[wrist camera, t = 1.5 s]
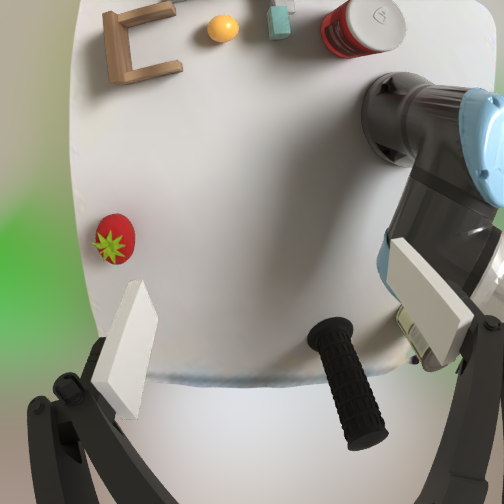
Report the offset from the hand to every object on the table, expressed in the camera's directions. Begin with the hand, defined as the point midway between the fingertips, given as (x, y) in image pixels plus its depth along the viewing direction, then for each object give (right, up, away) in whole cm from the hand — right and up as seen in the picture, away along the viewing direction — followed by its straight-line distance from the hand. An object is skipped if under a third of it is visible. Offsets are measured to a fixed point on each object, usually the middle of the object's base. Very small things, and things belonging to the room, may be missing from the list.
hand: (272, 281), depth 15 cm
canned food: (+12, +32, +18) cm, 39 cm away
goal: (-15, +30, +17) cm, 37 cm away
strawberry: (-21, +6, +30) cm, 37 cm away
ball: (-5, +31, +17) cm, 36 cm away
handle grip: (+15, -16, +45) cm, 50 cm away
